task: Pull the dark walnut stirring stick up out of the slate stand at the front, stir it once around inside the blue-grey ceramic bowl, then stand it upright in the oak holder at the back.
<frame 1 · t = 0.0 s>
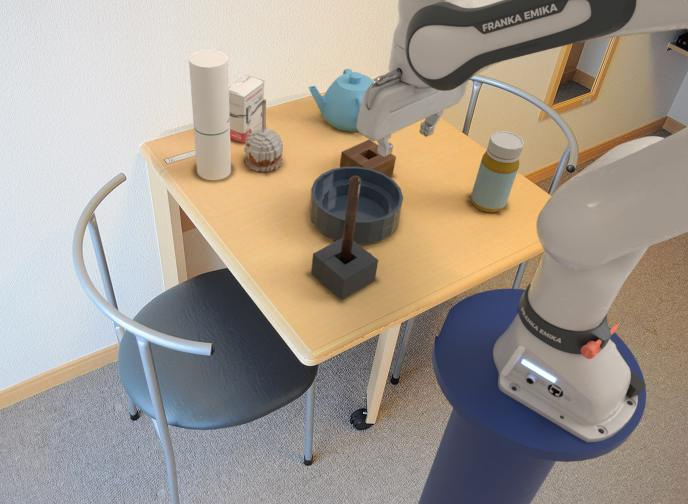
hand: (405, 143, 102), 25 cm above the table, tool pointing down, fingers open, 8 cm apart
teapot: (352, 119, 155), on the table
holder: (365, 174, 139), on the table
cylindrical container: (214, 171, 138), on the table
grey round-headed piece: (263, 163, 140), on the table
stand: (342, 277, 116), on the table
stick: (348, 230, 108), in the stand
bowl: (353, 217, 128), on the table
ink box: (245, 133, 149), on the table
bottle: (487, 204, 133), on the table
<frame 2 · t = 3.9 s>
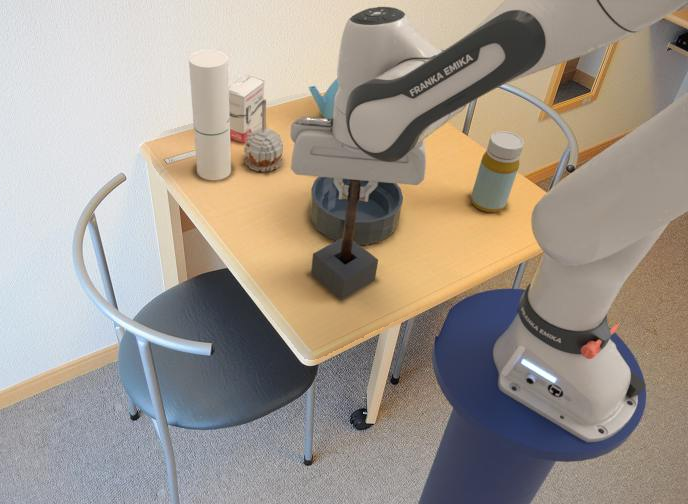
hand: (353, 198, 104), 18 cm above the table, tool pointing down, fingers closed on stick, 2 cm apart
stick: (348, 230, 108), in the stand, touching gripper
everything else where it was.
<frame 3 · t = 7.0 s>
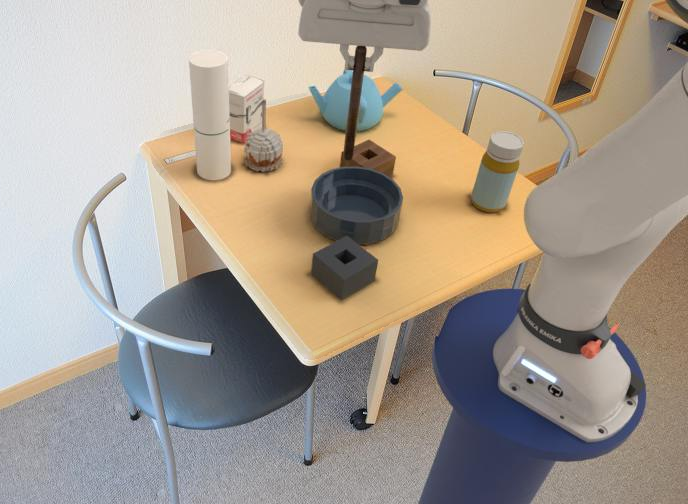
hand: (358, 69, 106), 31 cm above the table, tool pointing down, fingers closed on stick, 2 cm apart
stick: (354, 106, 111), point 25 cm above the table, touching gripper
everything else where it was.
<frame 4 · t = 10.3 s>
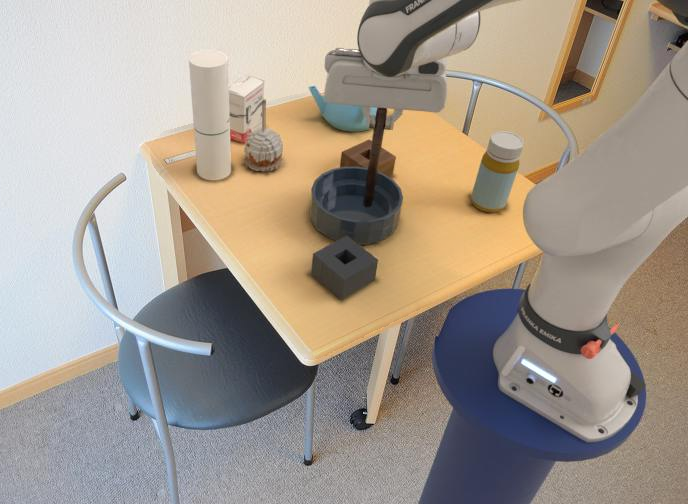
hand: (379, 127, 114), 20 cm above the table, tool pointing down, fingers closed on stick, 2 cm apart
stick: (374, 159, 119), point 14 cm above the table, touching gripper
everything else where it was.
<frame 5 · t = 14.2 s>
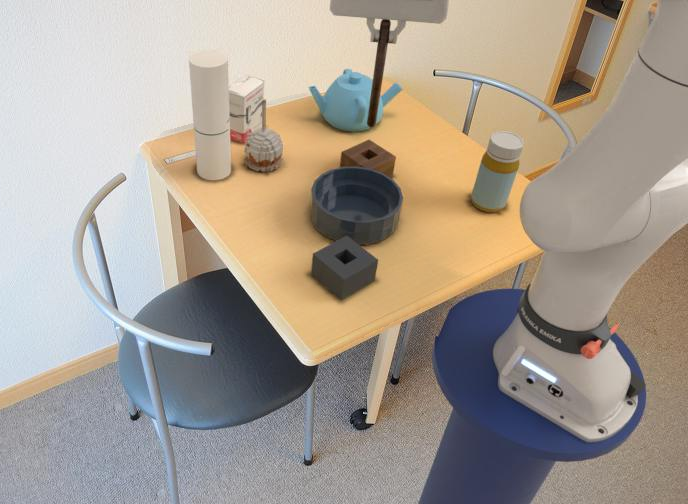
hand: (383, 41, 118), 30 cm above the table, tool pointing down, fingers closed on stick, 2 cm apart
stick: (378, 75, 122), point 23 cm above the table, touching gripper
everything else where it was.
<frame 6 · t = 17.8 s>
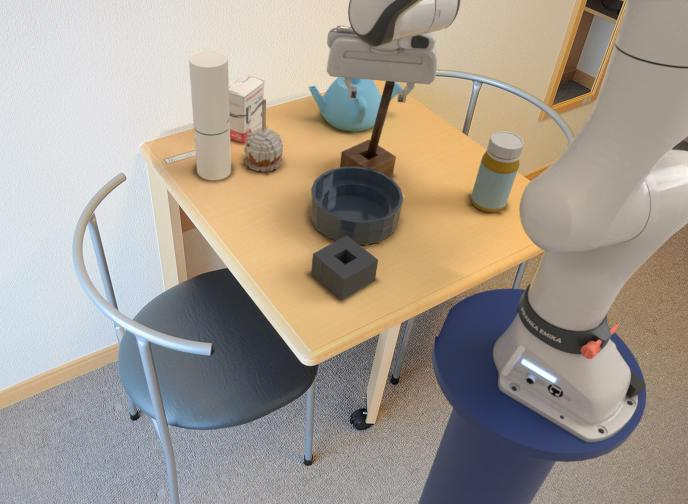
hand: (376, 99, 127), 18 cm above the table, tool pointing down, fingers open, 8 cm apart
stick: (377, 129, 131), in the holder, tilted 6°
everything else where it was.
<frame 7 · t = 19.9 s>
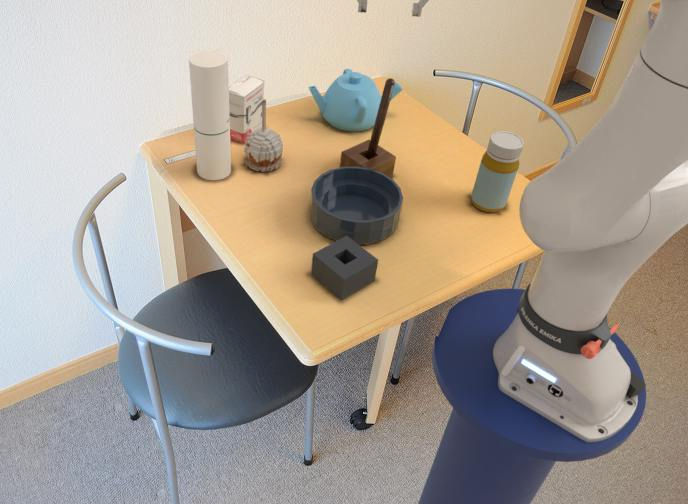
hand: (388, 13, 115), 34 cm above the table, tool pointing down, fingers open, 8 cm apart
nothing on the table moved.
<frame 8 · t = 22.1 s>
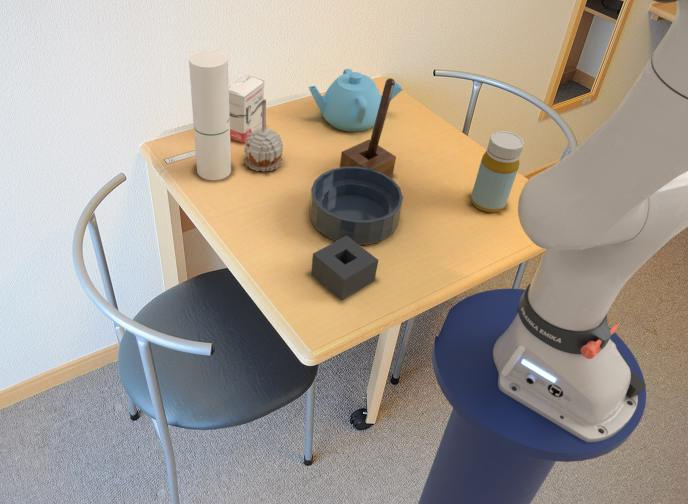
nothing on the table moved.
at the end: stick 0.0 cm off-centre in the holder, point 10.8 cm above the holder's base; stick tilted 6°; the gripper is holding nothing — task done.
